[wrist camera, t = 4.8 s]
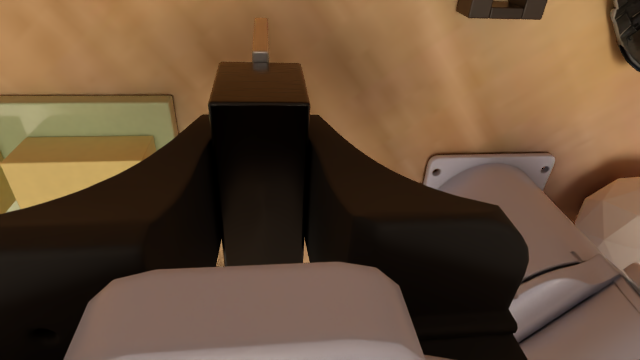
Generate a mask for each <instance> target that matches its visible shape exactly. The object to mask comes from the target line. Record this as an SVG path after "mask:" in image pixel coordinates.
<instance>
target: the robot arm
mask: <svg viewBox="0 0 640 360" xmlns="http://www.w3.org/2000/svg"><path fill="white" fill-rule="evenodd" d="M554 163H555V157H554V156H552V155H551V154H550V153H524V154H472V155H436V156H433V157H432V158H431V159H430V160H429V162H428V165H427V170H426V174H425V179H424V183H423V184H420V183H418V182H416V181H413V180H411V179H409V178H406V177H404V176H402V175H400V174H398V173H396V172H394V171H392V170H390V169H388V168H386V167H385V166H383V165H381V164H379V163H378V162H376V161H374V160H373V159H371V158H370V157H368V156H367V155H365V154H364V153H362V152H361V151H360V150H358V149H357V148H355V147H354V146H353V145H352V144H350V143H349V142H348V141H347V140H346V139H344V138H343V137H342V136H341V135H340V134H339V133H337V132H336V131H335V130H334V129H333V128H332V127H331V126H330V125H329V124H328V123H327V122H326V121H325V120H323V119H322V118H321V117H320V116H319V115H310V123H309V145H308V167H307V189H306V211H305V233H304V237H305V242H306V247H307V251H308V256H309V261H310V263H294V264H271V265H248V266H225V267H216V263H217V258H218V253H219V248H220V244H221V239H222V236H221V226H220V216H219V206H218V197H217V187H216V177H215V168H214V158H213V148H212V138H211V129H210V119H209V115H201V116H200V117H199V118H198V119H196V120H195V121H194V122H193V123H192V124H191V125H189V126H188V127H187V128H186V129H185V130H183V131H182V132H181V133H180V134H179V135H177V136H176V137H175V138H174V139H172V140H171V141H170V142H169V143H167V144H166V145H164V146H163V147H162V148H160V149H159V150H157V151H156V152H154V153H153V154H152V155H150V156H149V157H147V158H146V159H144V160H143V161H141V162H139V163H137V164H136V165H134V166H132V167H130V168H128V169H127V170H125V171H123V172H121V173H119V174H117V175H115V176H113V177H111V178H108V179H106V180H104V181H101V182H99V183H97V184H94V185H92V186H90V187H88V188H85V189H83V190H80V191H77V192H75V193H72V194H69V195H66V196H63V197H60V198H57V199H54V200H51V201H48V202H45V203H41V204H38V205H34V206H31V207H27V208H23V209H19V210H15V211H11V212H7V213H3V214H0V360H640V264H639V263H637V262H634V263H632V264H630V265H629V266H627V267H626V268H624V269H623V270H624V271H625V273H626V274H627V275H628V276H627V275H626V274H624V273H623V272H622V271H621V270H620V269H619V268H617V267H616V266H615V265H614V264H613V263H611V262H610V261H609V260H608V259H607V258H606V257H605V256H604V255H603V254H602V253H601V252H600V251H599V249H598V248H597V247H596V246H595V245H594V244H593V243H592V242H591V241H590V240H589V239H588V238H587V237H586V236H585V235H584V234H583V233H582V232H581V231H580V230H579V229H578V228H577V227H576V226H575V225H574V223H573V222H572V221H571V220H570V219H569V218H568V217H567V216H566V215H565V214H564V213H563V212H562V211H561V210H560V209H559V208H558V207H557V206H556V205H555V204H554V203H553V202H552V201H551V200H550V199H549V198H548V196H547V195H546V194H545V193H544V192H543V189H544V187H545V184H546V182H547V180H548V177H549V175H550V173H551V170H552V168H553V165H554ZM543 167H544V169H542V168H543ZM435 169H438V171H436V172H434V173H432V172H433V170H435ZM541 169H542V170H541Z"/></svg>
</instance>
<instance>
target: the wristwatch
mask: <svg viewBox="0 0 640 360" xmlns="http://www.w3.org/2000/svg"><path fill="white" fill-rule="evenodd" d="M613 3H614V6H615V7H614V8H613V9H612V10H611V12H610V18H611V20H612V21H613V22H612V23H613V27H614V32H615V34H616V39H617V44H618V47H619V49H620V51H621V53H622V55H623V57H624V58H625V60H626V61H627V62H628V63H629V64H630V65H631V66H632V67H633V68H634V69H635V70H637V71H639V72H640V0H613Z"/></svg>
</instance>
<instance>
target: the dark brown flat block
mask: <svg viewBox="0 0 640 360" xmlns="http://www.w3.org/2000/svg"><path fill="white" fill-rule="evenodd" d="M208 109H209V119H210V129H211V138H212V148H213V158H214V168H215V177H216V187H217V197H218V206H219V216H220V226H221V236H222V245H223V255H224V265H225V266H248V265H271V264H294V263H303V255H304V233H305V211H306V189H307V167H308V145H309V123H310V102H309V97H308V93H307V89H306V84H305V80H304V75H303V71H302V67H301V64H299V63H269V48H268V20H267V18H255V20H254V34H253V47H252V62H220V63H219V66H218V70H217V73H216V77H215V81H214V84H213V88H212V92H211V95H210V99H209V103H208Z"/></svg>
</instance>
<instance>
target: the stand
mask: <svg viewBox="0 0 640 360" xmlns="http://www.w3.org/2000/svg"><path fill="white" fill-rule="evenodd" d="M546 3H547V0H510V1H509V2H499V1H493V0H459V1H458V5H457V12H459V13H461V14H463V15H464V16H466V17H468V18H490V19H533V20H540V19H541V18H542V15H543V12H544V9H545V6H546Z"/></svg>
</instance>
